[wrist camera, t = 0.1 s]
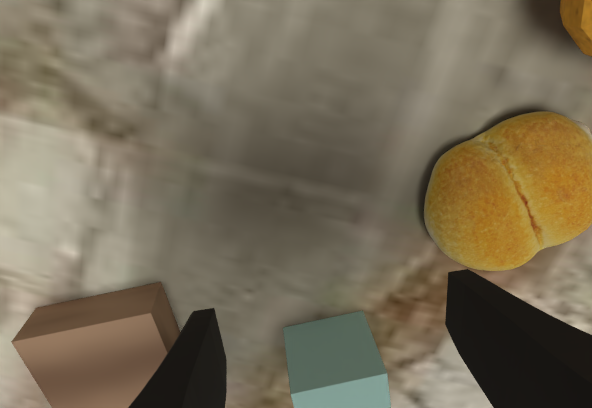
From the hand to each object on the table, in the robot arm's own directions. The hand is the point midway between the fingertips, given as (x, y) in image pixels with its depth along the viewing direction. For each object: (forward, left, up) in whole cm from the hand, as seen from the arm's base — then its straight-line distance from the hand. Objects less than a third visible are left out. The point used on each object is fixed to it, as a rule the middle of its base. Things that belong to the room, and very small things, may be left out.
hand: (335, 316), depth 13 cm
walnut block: (-7, +12, -10) cm, 17 cm away
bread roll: (-2, -11, -10) cm, 15 cm away
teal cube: (-11, 0, -10) cm, 15 cm away
